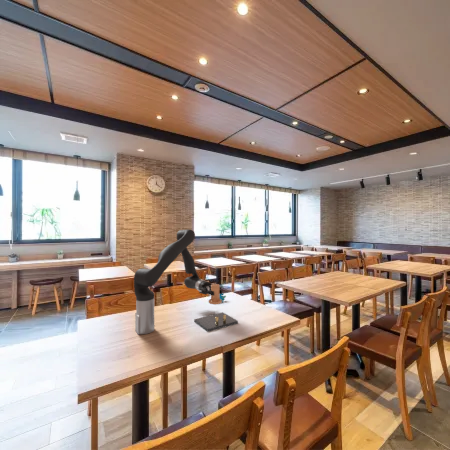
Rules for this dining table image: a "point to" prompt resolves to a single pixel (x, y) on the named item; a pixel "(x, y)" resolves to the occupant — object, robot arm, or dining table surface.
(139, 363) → the dining table surface
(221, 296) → the teal spiky virus model
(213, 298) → the orange flanged cylinder
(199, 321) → the base plate
